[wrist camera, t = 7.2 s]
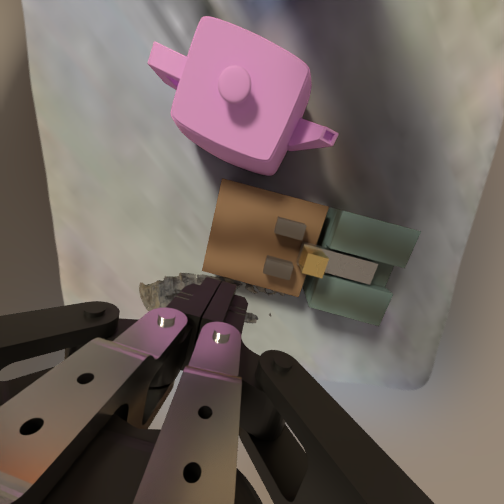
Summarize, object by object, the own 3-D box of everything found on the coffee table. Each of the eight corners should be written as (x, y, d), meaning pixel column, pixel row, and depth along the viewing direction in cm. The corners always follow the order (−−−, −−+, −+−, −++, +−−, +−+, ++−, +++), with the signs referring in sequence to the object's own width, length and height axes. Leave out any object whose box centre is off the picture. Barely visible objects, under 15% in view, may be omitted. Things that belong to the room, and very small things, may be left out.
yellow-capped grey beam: (302, 241, 27) (308, 251, 23) (372, 259, 27) (393, 274, 22) (296, 260, 28) (301, 274, 23) (364, 279, 28) (383, 297, 23)
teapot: (341, 109, 28) (379, 64, 18) (298, 196, 30) (311, 198, 20) (196, 39, 27) (152, -47, 17) (165, 134, 30) (113, 105, 20)
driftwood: (141, 307, 37) (134, 313, 34) (141, 263, 35) (133, 268, 33) (279, 324, 36) (280, 332, 34) (285, 281, 34) (286, 286, 32)
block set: (228, 179, 30) (218, 177, 25) (392, 223, 30) (421, 231, 24) (210, 261, 33) (197, 276, 27) (360, 302, 33) (378, 326, 27)
